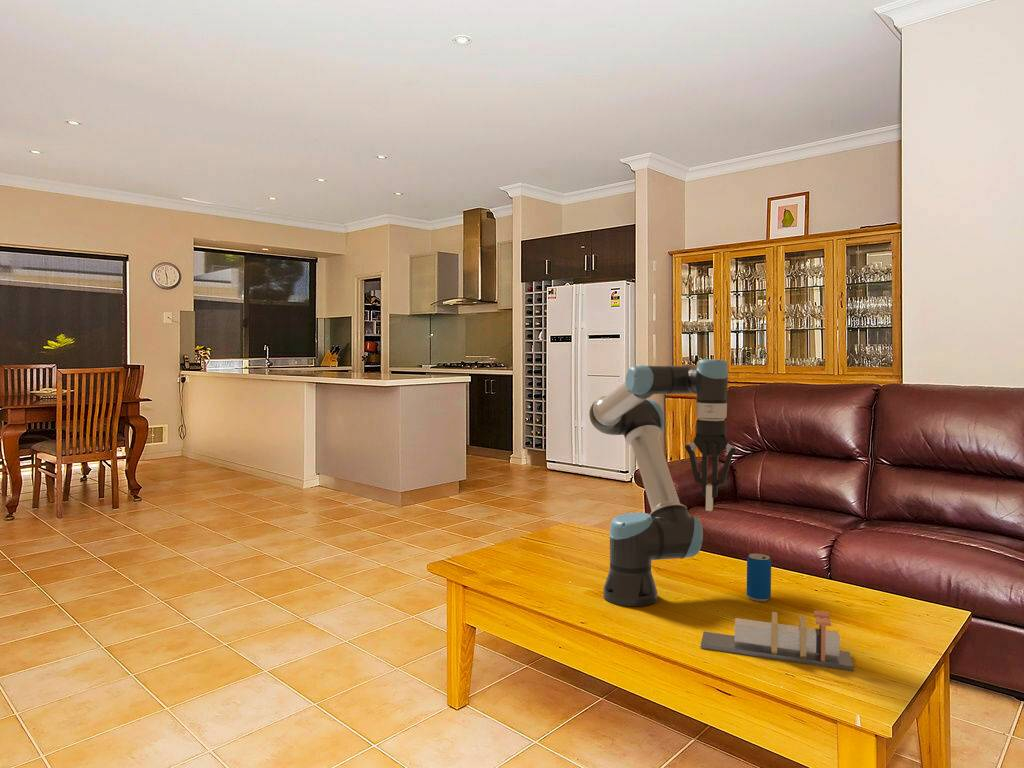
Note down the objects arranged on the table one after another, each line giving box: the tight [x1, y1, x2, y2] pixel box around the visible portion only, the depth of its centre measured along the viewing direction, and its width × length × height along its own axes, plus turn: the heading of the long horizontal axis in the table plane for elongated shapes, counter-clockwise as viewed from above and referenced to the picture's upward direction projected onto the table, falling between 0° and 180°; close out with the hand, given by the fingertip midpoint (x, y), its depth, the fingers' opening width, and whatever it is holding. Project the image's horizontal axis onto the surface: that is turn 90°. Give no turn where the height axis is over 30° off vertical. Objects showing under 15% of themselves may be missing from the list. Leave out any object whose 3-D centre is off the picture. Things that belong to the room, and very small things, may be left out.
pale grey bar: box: [734, 617, 841, 656], centre depth 155 cm, size 22×4×4 cm, turn 69°
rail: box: [700, 611, 855, 672], centre depth 156 cm, size 32×8×8 cm, turn 69°
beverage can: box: [746, 553, 772, 602], centre depth 192 cm, size 6×6×12 cm
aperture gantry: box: [813, 610, 832, 661], centre depth 152 cm, size 3×7×9 cm, turn 159°
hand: (709, 509), depth 175 cm, fingers closed
